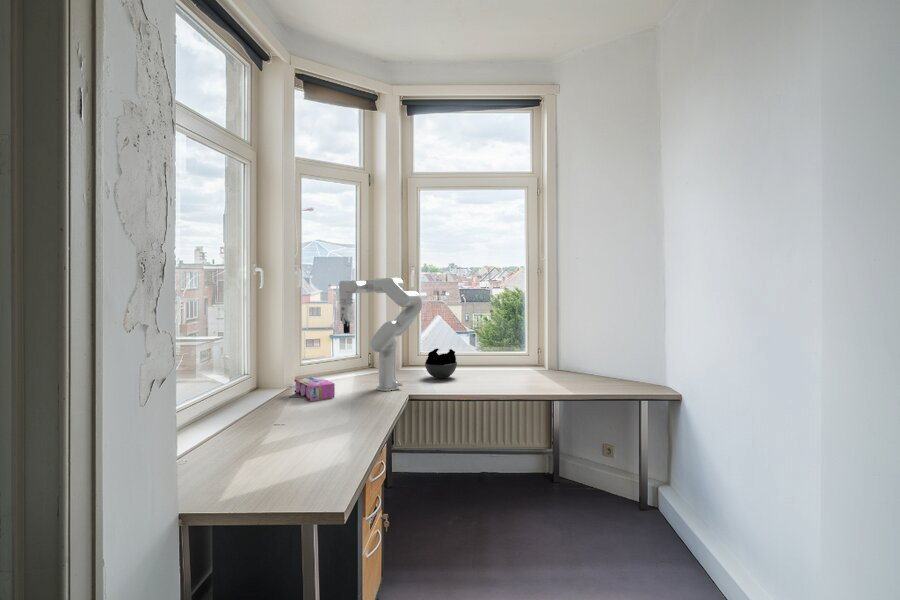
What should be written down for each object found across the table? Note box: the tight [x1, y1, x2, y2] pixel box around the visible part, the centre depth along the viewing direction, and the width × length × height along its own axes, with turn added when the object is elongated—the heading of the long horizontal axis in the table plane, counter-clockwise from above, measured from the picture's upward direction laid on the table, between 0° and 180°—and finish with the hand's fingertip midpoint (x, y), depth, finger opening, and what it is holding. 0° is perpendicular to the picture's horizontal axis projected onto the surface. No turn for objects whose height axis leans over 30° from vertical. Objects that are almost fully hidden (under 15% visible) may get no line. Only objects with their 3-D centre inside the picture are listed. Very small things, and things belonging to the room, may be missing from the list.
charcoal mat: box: [288, 392, 305, 399], centre depth 279 cm, size 15×25×1 cm, turn 170°
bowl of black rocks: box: [424, 348, 458, 380], centre depth 313 cm, size 20×20×19 cm
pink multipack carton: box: [293, 375, 336, 402], centre depth 270 cm, size 24×8×14 cm
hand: (346, 332), depth 295 cm, fingers closed
